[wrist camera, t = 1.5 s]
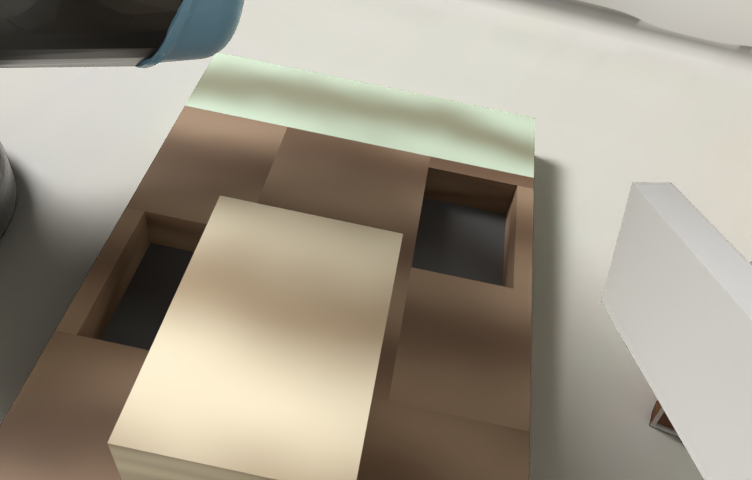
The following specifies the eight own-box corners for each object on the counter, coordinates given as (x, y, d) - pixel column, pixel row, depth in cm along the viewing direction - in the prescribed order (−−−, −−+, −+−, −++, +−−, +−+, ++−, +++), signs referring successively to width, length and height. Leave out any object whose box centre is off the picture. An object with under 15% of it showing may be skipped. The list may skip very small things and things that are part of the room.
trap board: (504, 672, 27) (525, 658, 25) (-34, 555, 28) (-61, 530, 25) (522, 151, 48) (534, 117, 46) (217, 88, 49) (215, 52, 46)
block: (329, 585, 26) (353, 496, 19) (147, 545, 26) (107, 443, 19) (373, 358, 32) (403, 233, 26) (228, 328, 32) (220, 195, 26)
